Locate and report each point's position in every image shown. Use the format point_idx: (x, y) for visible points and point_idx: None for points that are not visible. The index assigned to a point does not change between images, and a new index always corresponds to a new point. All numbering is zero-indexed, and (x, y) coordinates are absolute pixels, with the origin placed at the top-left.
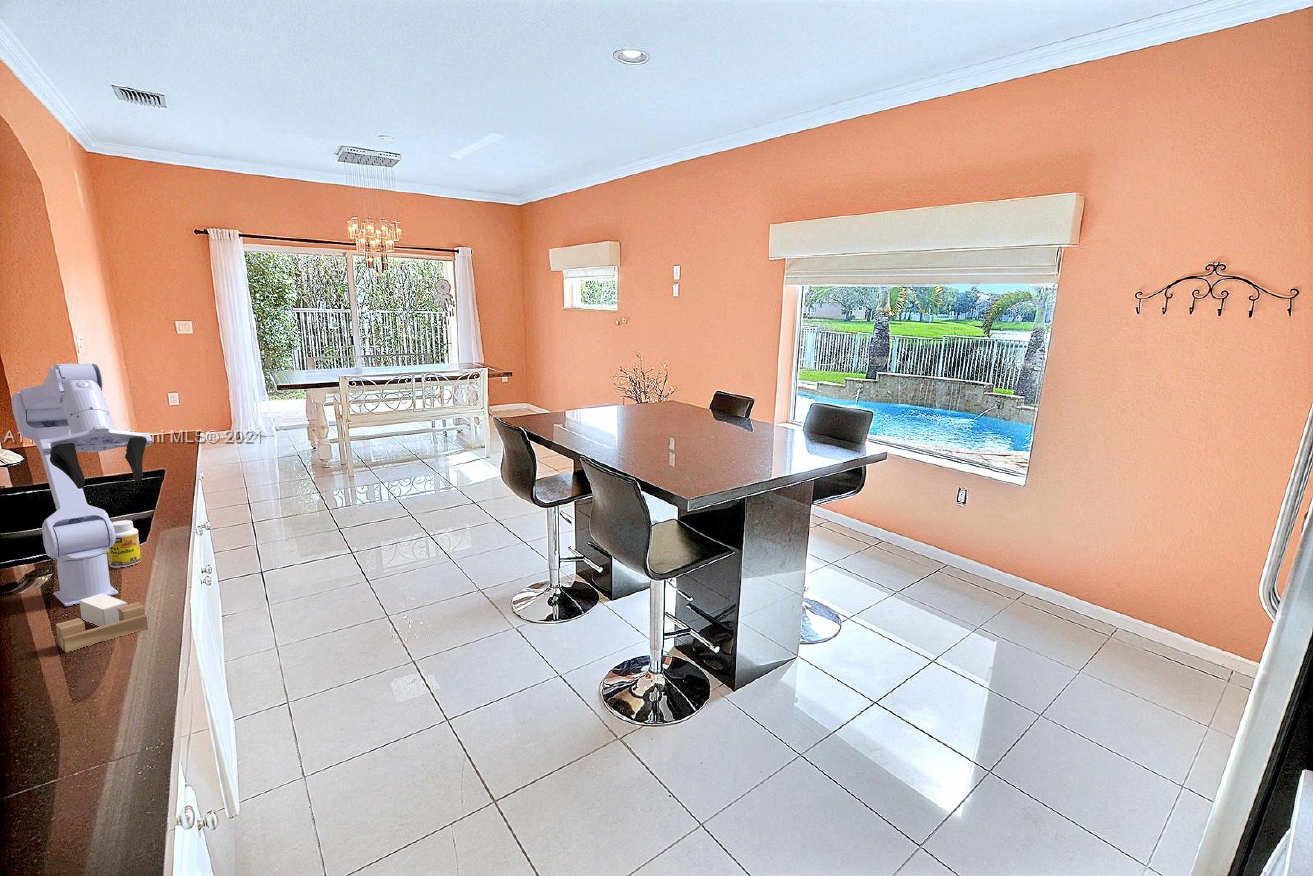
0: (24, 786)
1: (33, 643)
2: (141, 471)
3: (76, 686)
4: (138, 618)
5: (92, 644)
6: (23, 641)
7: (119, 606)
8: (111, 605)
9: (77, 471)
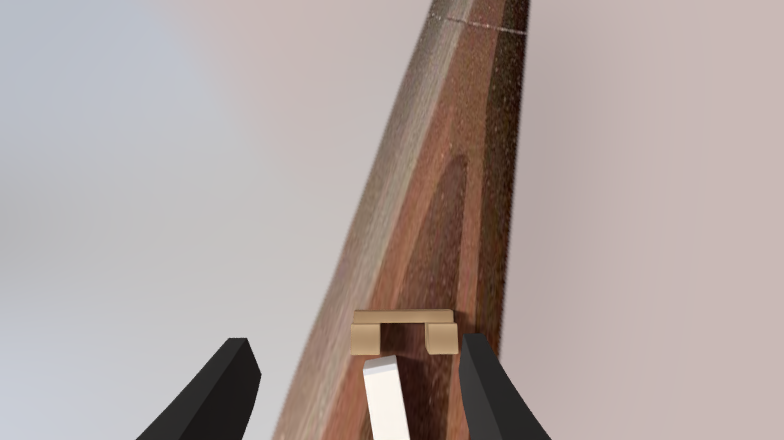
0: (519, 38)
1: None
2: (219, 352)
3: (458, 195)
4: (364, 311)
5: (420, 309)
6: None
7: (374, 367)
8: (383, 375)
9: (502, 380)
